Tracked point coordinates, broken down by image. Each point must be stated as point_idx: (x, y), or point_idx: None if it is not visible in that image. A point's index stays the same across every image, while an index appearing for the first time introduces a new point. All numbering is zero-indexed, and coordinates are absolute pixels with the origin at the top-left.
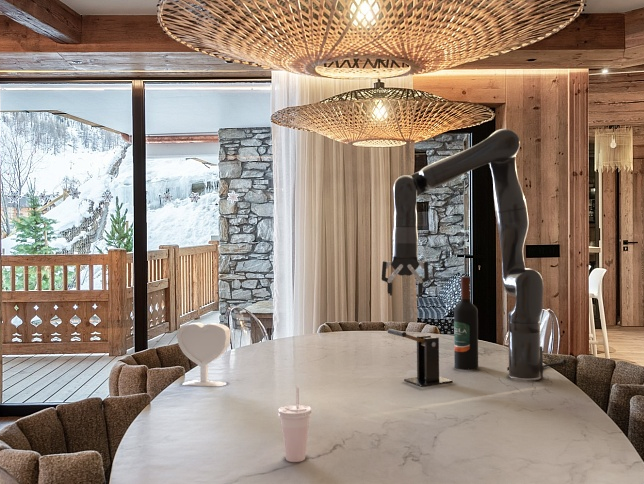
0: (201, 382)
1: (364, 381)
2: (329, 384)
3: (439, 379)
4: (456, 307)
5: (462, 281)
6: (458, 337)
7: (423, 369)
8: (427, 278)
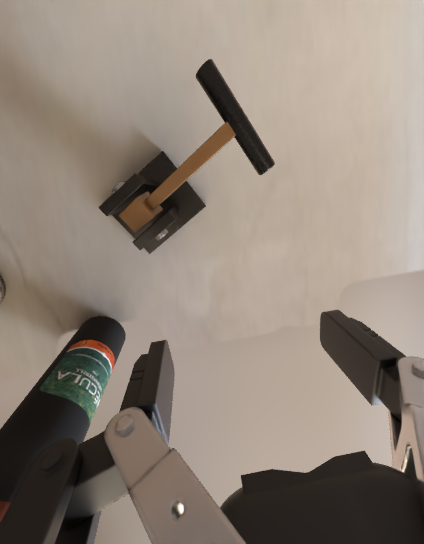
0: None
1: (281, 208)
2: (345, 173)
3: None
4: None
5: None
6: (89, 365)
7: (164, 213)
8: (40, 472)
